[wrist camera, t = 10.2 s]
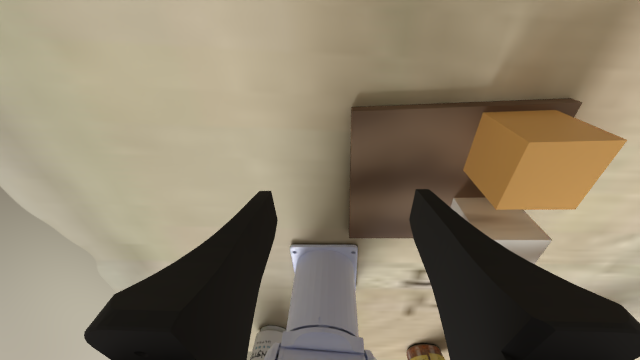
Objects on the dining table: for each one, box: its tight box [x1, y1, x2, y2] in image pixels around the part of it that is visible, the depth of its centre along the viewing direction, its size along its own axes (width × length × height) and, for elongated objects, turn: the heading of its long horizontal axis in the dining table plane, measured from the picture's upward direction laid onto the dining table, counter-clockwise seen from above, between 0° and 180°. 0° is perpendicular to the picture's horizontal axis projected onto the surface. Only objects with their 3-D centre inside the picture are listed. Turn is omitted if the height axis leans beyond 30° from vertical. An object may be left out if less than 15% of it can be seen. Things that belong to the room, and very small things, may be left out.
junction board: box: [349, 98, 582, 264], centre depth 19 cm, size 14×16×6 cm
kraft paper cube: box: [463, 110, 627, 210], centre depth 16 cm, size 5×5×5 cm
